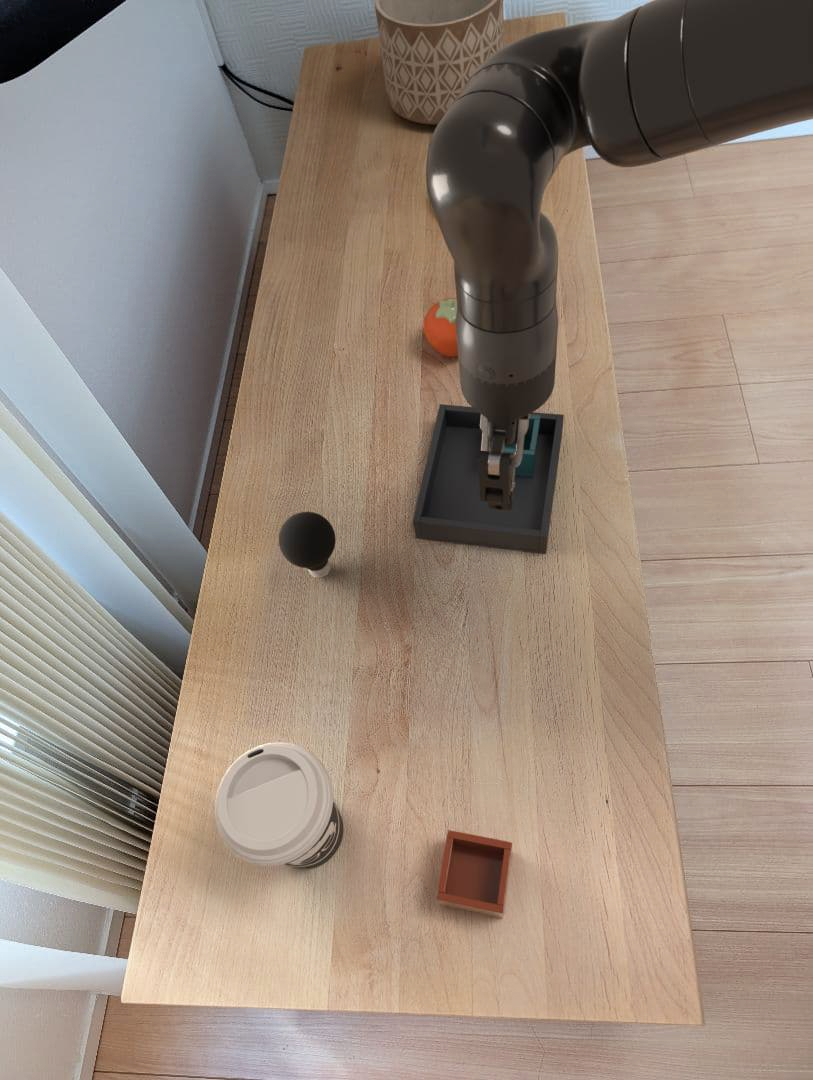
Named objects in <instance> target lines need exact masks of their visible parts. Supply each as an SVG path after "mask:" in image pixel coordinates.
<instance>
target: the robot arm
mask: <svg viewBox="0 0 813 1080" xmlns="http://www.w3.org/2000/svg"><path fill="white" fill-rule="evenodd" d="M810 120H813V0H652V1H649V2H647V3H645V4H643V5H640V6H638V7H636V8H634V9H632V10H629V11H627V12H625V13H624V14H622V15H620V16H618V17H616V18H614V19H607V20H599V21H596V20H595V21H588V22H582V23H577V24H572V25H567V26H563V27H558V28H552V29H547V30H543V31H539V32H536V33H532V34H529V35H526V36H524V37H522V38H519V39H517V40H515V41H513V42H510V43H509V44H507V45H506V46H505V45H504V47H503V48H502V49H500V50H498V51H497V52H495V53H494V54H492V55H491V56H490V57H489V58H487V59H486V60H485V61H484V62H483V63H482V64H481V65H480V66H479V67H478V68H477V69H476V70H475V72H474V73H473V75H472V76H471V77H470V79H469V80H468V82H467V83H466V85H465V86H464V87H463V89H462V90H461V92H460V93H459V95H458V96H457V98H456V99H455V100H454V102H453V103H452V105H451V106H450V108H449V109H448V110H447V112H446V113H445V115H444V116H443V117H442V119H441V120H440V122H439V123H438V124H436V126H435V128H434V129H433V132H432V135H431V137H430V141H429V144H428V149H427V154H426V163H425V164H426V166H425V181H426V183H425V184H426V189H427V191H426V192H427V196H428V200H429V203H430V206H431V209H432V211H433V214H434V216H435V220H436V222H437V225H438V227H439V229H440V232H441V235H442V237H443V240H444V242H445V245H446V247H447V249H448V250H447V251H448V252H449V254H450V256H451V258H452V259H453V274H454V275H453V276H454V286H455V296H456V297H455V298H456V299H457V312H456V338H457V348H458V356H457V359H458V360H457V361H458V372H459V382H460V383H459V384H460V390H461V394H462V396H463V398H464V399H465V401H466V402H467V404H468V405H469V406H470V407H473V408H474V409H475V410H477V411H478V412H479V413H481V421H480V428H481V430H482V432H483V433H482V446H481V451H480V454H479V455H478V459H477V461H479V484H480V493H479V497H480V501H483V502H488V506H489V507H490V508H491V509H492V510H499V511H507V510H511V509H512V507H513V502H514V490H513V487H514V488H515V482H514V478H515V468H516V467H518V466H519V465H520V463H521V461H522V457H523V447H524V437H525V435H526V434H527V430H528V427H529V418H530V413H532V412H537V410H539V409H540V408H541V407H543V405H545V404H546V403H547V402H548V400H549V398H550V397H551V395H552V393H553V391H554V388H555V382H556V381H555V380H556V365H557V364H556V363H557V350H558V348H557V347H558V333H559V332H558V331H559V314H558V313H559V312H558V306H557V304H558V303H557V289H558V288H557V287H558V271H559V245H558V244H559V243H558V237H557V234H556V230H555V227H554V225H553V224H552V222H551V220H550V219H549V218H548V217H547V216H546V215H545V214H544V213H543V212H542V211H541V209H542V203H543V198H544V193H545V191H546V188H547V187H548V185H549V184H550V182H551V180H552V178H553V176H554V174H555V172H556V171H557V169H558V167H559V165H560V163H561V162H562V160H563V158H564V157H566V156H568V155H569V154H571V153H574V152H575V151H578V150H580V149H583V148H585V147H590V146H591V147H592V150H594V152H595V153H596V154H597V155H598V156H599V157H600V158H601V159H602V160H603V161H604V162H605V163H608V164H610V165H612V166H613V167H614V166H615V167H617V168H618V167H619V168H635V167H642V166H647V165H650V164H651V165H652V164H656V163H659V162H663V161H665V160H669V159H673V158H674V159H675V158H677V157H681V156H685V155H688V154H691V153H694V152H698V151H702V150H705V149H709V148H713V147H715V146H719V145H722V144H725V143H728V142H732V141H735V140H738V139H742V138H745V137H746V138H747V137H749V136H753V135H756V134H760V133H763V132H767V131H771V130H774V129H777V128H782V127H785V126H789V125H793V124H794V125H795V124H798V123H802V122H806V121H810ZM490 443H492V445H491V449H490V447H489V444H490ZM515 443H516V452H515V453H513V454H509V453H504V446H512V445H514V444H515Z"/></svg>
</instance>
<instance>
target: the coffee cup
mask: <svg viewBox="0 0 813 1080" xmlns="http://www.w3.org/2000/svg"><path fill="white" fill-rule="evenodd" d="M214 817H215V824H216V828H217V831H218V833H219V836H220V839H221V840H222V842H223V843H224V844H225V846H226V847H227V849H228V850H229V851H230V852H231V853H232V854H233V855H235V856H236V857H237V858H238V859H240V860H241V861H244V862H246V863H248V864H250V865H254V866H259V867H277V866H283V865H284V866H290V867H294V868H299V869H305V870H306V869H307V870H308V869H315V868H319V867H320V866H322V865H324V864H326V863H327V862H328V861H330V860H331V859H332V858H333V857H334V856H335V854H336V853H337V852H338V851H339V848H340V847H341V843H342V841H343V838H344V837H343V836H344V822H343V818H342V815H341V813H340V810H339V807H338V806H337V804H336V802H335V800H334V789H333V783H332V780H331V776H330V774H329V772H328V770H327V767H326V766H325V764H324V763H323V761H321V759H320V758H319V757H318V756H317V755H316V754H314V752H312V751H311V750H309V749H307V748H306V747H304V746H301V745H300V744H296V743H291V742H285V741H272V742H267V743H263V744H260V745H257V746H255V747H252V748H251V749H249V750H247V751H245V753H244V752H243V754H242V755H240V756H239V757H238V758H237V759H235V761H233V763H232V764H230V766H229V767H228V769H227V770H226V772H225V773H224V774H223V776H222V779H221V781H220V783H219V786H218V788H217V792H216V797H215V803H214Z"/></svg>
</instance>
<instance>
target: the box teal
mask: <svg viewBox="0 0 813 1080" xmlns="http://www.w3.org/2000/svg"><path fill="white" fill-rule="evenodd" d="M540 417H541V416H540V415H530V418H529V427H528V430H527V434H526V435H525V437H524V447H523V457H522V461H521V463H520V465H519V466H518V467H516V468H515V476H519V477H528V478H533V476H534V470H535V464H536V457H537V451H538V445H539V436H540ZM491 445H492V443H490V444H489V447H490V449H491ZM515 452H516V443H515V444H514V445H512V446H504V453H509V454H513V453H515Z"/></svg>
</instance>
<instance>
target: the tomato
mask: <svg viewBox="0 0 813 1080" xmlns="http://www.w3.org/2000/svg"><path fill="white" fill-rule="evenodd" d="M456 312H457V299H456V297H447V298H444V299H441V300H439V301H437V302H436V303H434V304H433V305H431V306H430V307H429V308H428V310H427V312H426V314H425V316H424V317H423V332H424V335H425V338H426V340H427V342H428V344H429V345H430V347H431V348H432V349H433V350H434V351H435V352H437V353H438V354H440V355H441V356H443V357H448V358H456V357H457V358H458V348H457V338H456Z"/></svg>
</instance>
